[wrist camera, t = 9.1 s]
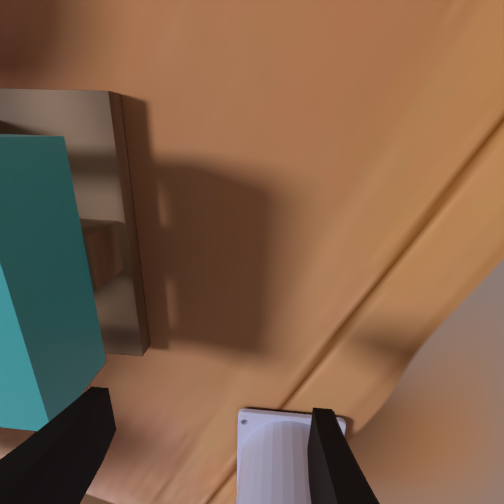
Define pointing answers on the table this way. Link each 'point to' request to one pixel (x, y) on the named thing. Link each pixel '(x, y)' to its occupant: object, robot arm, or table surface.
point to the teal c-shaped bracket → (42, 286)
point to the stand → (94, 198)
